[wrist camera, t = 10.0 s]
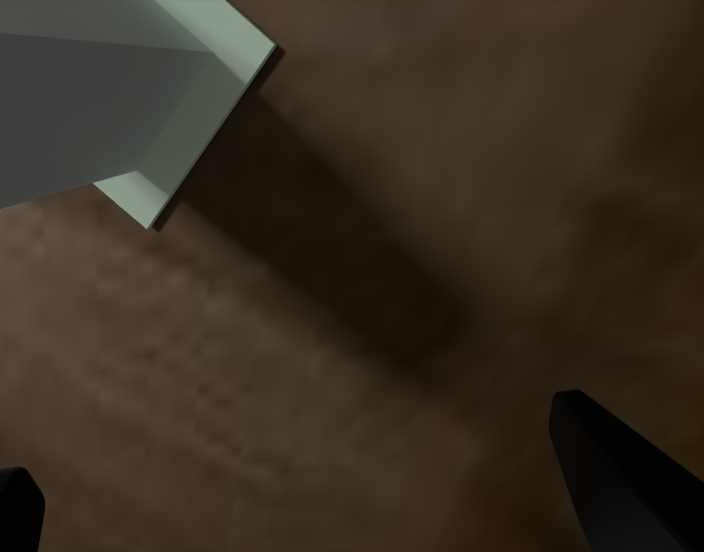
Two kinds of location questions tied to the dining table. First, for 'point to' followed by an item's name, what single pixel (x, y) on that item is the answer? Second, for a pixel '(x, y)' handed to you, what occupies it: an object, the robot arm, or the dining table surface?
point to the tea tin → (86, 89)
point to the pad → (194, 105)
